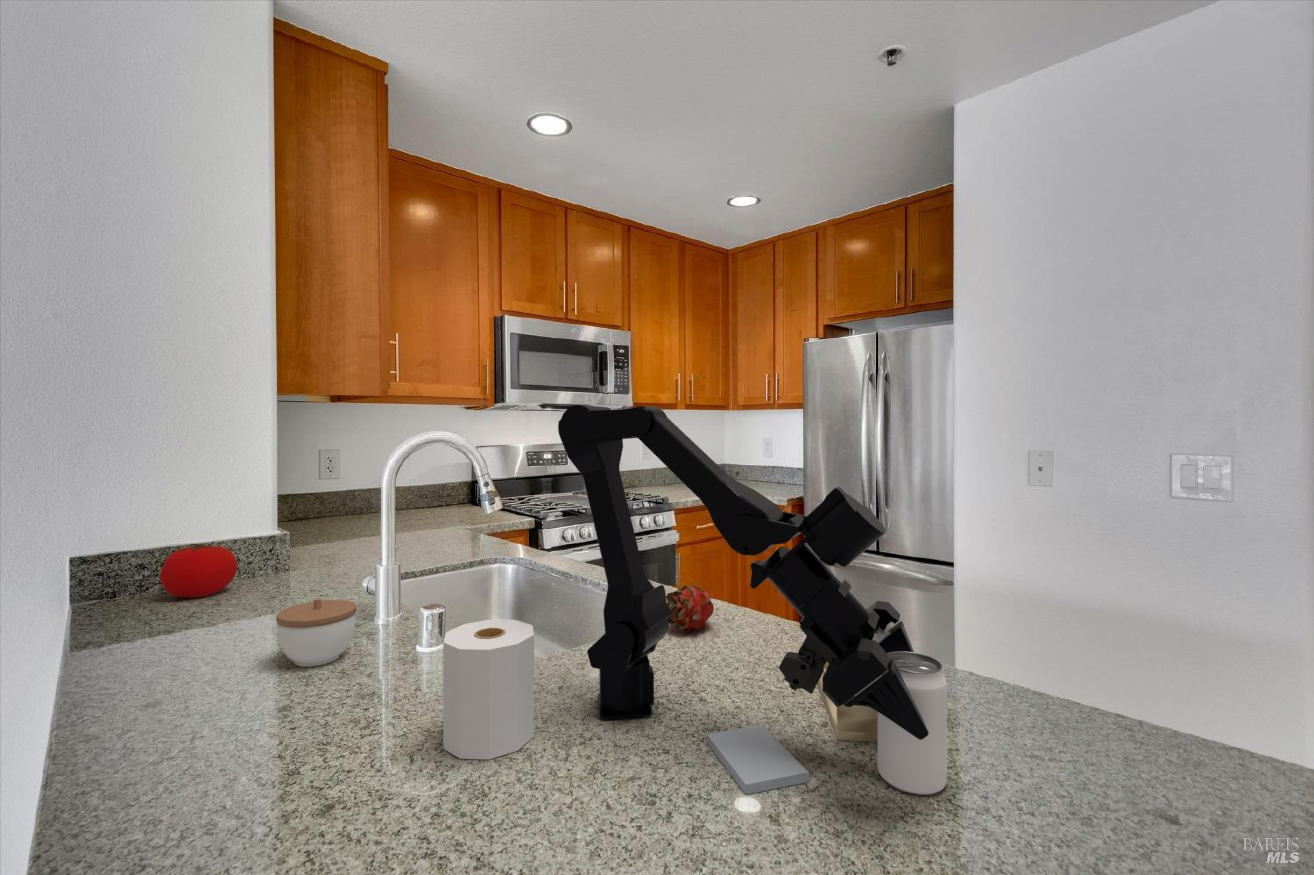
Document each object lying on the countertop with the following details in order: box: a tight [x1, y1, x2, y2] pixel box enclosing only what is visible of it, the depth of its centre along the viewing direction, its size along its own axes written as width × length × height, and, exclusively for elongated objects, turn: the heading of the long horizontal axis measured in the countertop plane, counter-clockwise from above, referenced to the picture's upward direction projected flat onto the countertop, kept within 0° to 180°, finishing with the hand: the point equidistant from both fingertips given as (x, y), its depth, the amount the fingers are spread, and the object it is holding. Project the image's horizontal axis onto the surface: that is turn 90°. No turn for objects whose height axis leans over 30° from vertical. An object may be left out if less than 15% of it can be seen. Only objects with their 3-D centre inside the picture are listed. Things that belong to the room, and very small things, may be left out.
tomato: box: [159, 543, 239, 599], centre depth 126 cm, size 12×13×11 cm
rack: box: [816, 662, 878, 743], centre depth 76 cm, size 10×19×4 cm, turn 174°
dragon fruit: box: [666, 584, 715, 634], centre depth 105 cm, size 8×8×12 cm
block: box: [706, 724, 810, 796], centre depth 63 cm, size 7×10×1 cm
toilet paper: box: [442, 619, 535, 760], centre depth 68 cm, size 10×10×12 cm
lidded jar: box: [275, 597, 357, 668], centre depth 90 cm, size 11×11×9 cm
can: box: [877, 651, 948, 797], centre depth 60 cm, size 6×6×12 cm
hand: (926, 715), depth 59 cm, fingers open, 9 cm apart
